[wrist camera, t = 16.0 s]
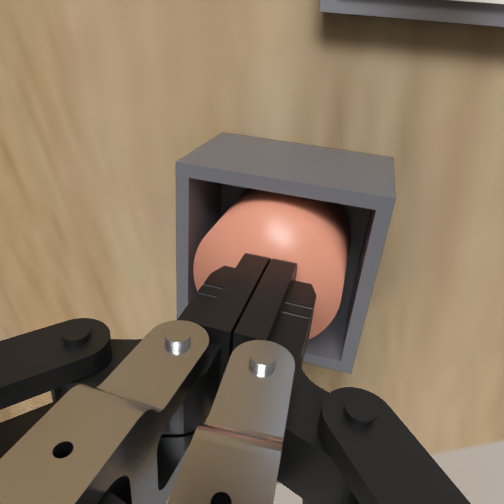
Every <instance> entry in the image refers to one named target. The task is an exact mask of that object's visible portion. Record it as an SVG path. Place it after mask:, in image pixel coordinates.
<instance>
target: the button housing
mask: <svg viewBox="0 0 504 504" xmlns="http://www.w3.org/2000/svg"><path fill="white" fill-rule="evenodd" d="M248 188H251V189H257V190H263V191H268V192H274V193H280V194H286V195H292V196H297V197H303V198H309V199H315V200H321V201H327V202H332V203H338V204H340V205H341V206H342V208H343V209H344V211H345V214H346V216H347V218H348V221H349V225H350V231H351V243H350V250H349V256H348V262H347V268H346V274H345V280H344V286H343V291H342V297H341V302H340V306H339V309H338V311H337V313H336V315H335V317H334V319H333V320H332V321H331V323H330V324H329V325H328V326H327V327H326V328H325V329H324V330H323V331H322V332H320V333H319V334H318V335H316V336H315V337H313V338H311V339H309V340H308V344H307V348H306V352H305V356H304V360H303V362H305V363H309V364H313V365H317V366H321V367H325V368H329V369H333V370H337V371H341V372H345V373H349V374H351V372H352V368H353V364H354V360H355V356H356V353H357V349H358V345H359V341H360V337H361V333H362V329H363V325H364V321H365V317H366V313H367V309H368V305H369V301H370V297H371V293H372V290H373V286H374V282H375V278H376V274H377V270H378V266H379V262H380V258H381V254H382V250H383V246H384V242H385V238H386V234H387V230H388V227H389V223H390V219H391V215H392V211H393V207H394V203H395V199H396V194H395V175H394V158H393V157H386V156H380V155H373V154H366V153H359V152H352V151H346V150H339V149H332V148H325V147H318V146H311V145H305V144H298V143H291V142H284V141H277V140H271V139H264V138H257V137H250V136H243V135H236V134H230V133H223V132H222V133H221V134H219V135H218V136H216V137H214V138H213V139H211V140H210V141H208V142H206V143H205V144H203V145H202V146H200V147H198V148H197V149H195V150H194V151H192V152H191V153H189V154H187V155H186V156H184V157H183V158H181V159H179V160H178V161H176V271H177V319H178V318H179V316H180V315H181V313H182V312H183V311H184V309H185V308H186V307H187V305H188V304H189V303H190V301H191V300H192V298H193V297H194V296H195V294H197V289H196V286H195V281H194V273H193V266H194V259H195V254H196V251H197V249H198V246H199V244H200V243H201V241H202V239H203V238H204V237H205V235H206V234H207V233H208V232H209V231H210V230H211V229H212V227H213V226H214V225H215V224H216V223H217V222H218V221H219V219H220V218H221V217H222V216H223V215H224V214H225V213H226V211H227V210H228V209H229V208H230V207H231V206H232V205H233V203H234V202H235V201H236V200H237V199H238V198H239V197H240V196H241V194H242V193H243V192H244V191H245V190H246V189H248Z"/></svg>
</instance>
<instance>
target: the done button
mask: <svg viewBox="0 0 504 504" xmlns="http://www.w3.org/2000/svg"><path fill="white" fill-rule="evenodd" d="M350 243H351V231H350V225H349V221H348V218H347V216H346V214H345V211H344V209H343V208H342V206H341V205H340V204H338V203H332V202H327V201H321V200H315V199H309V198H303V197H297V196H292V195H286V194H280V193H274V192H268V191H263V190H257V189H251V188H248V189H246V190H245V191H244V192H243V193H242V194H241V196H240V197H239V198H238V199H237V200H236V201H235V202H234V203H233V205H232V206H231V207H230V208H229V209H228V210H227V211H226V213H225V214H224V215H223V216H222V217H221V218H220V219H219V221H218V222H217V223H216V224H215V225H214V226H213V227H212V229H211V230H210V231H209V232H208V233H207V234H206V235H205V237H204V238H203V239H202V241H201V243H200V244H199V246H198V249H197V251H196V254H195V259H194V266H193V273H194V281H195V286H196V289H197V292H198V290H199V289H200V287H201V286H202V285H203V284H204V282H205V281H206V279H207V278H208V276H209V275H210V274H211V273H212V272H214V271H215V270H217V269H219V268H221V267H223V266H228V267H233V268H236V266H237V265H238V263H239V262H240V260H241V258H242V257H243V255H244V254H245V253H249V254H254V255H259V256H264V257H269V258H271V259H272V258H274V259H279V260H284V261H289V262H294V263H297V273H296V280H295V281H299V282H304V283H309V284H312V286H313V288H314V291H315V293H316V302H315V307H314V313H313V318H312V324H311V330H310V335H309V339H311V338H313V337H315V336H316V335H318V334H319V333H320V332H322V331H323V330H324V329H325V328H326V327H327V326H328V325H329V324H330V323H331V321H332V320H333V319H334V317H335V315H336V313H337V311H338V309H339V306H340V302H341V297H342V291H343V286H344V280H345V274H346V268H347V262H348V256H349V250H350Z"/></svg>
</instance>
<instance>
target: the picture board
mask: <svg viewBox="0 0 504 504" xmlns="http://www.w3.org/2000/svg"><path fill="white" fill-rule="evenodd" d="M319 12H324V13H336V14H348V15H360V16H372V17H384V18H396V19H408V20H420V21H432V22H444V23H456V24H468V25H480V26H492V27H504V0H320V8H319Z"/></svg>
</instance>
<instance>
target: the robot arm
mask: <svg viewBox="0 0 504 504" xmlns="http://www.w3.org/2000/svg"><path fill="white" fill-rule="evenodd" d="M296 273H297V263H294V262H289V261H284V260H279V259H274V258H272V259H271V258H269V257H264V256H259V255H254V254H249V253H245V254H244V255H243V257H242V258H241V260H240V262H239V263H238V265H237V266H236V268H233V267H228V266H223V267H221V268H219V269H217V270H215V271H214V272H212V273H211V274H210V275H209V276H208V278H207V279H206V281H205V282H204V284H203V285H202V286H201V287H200V289H199V290H198V292H197V294H195V296H194V297H193V298H192V300H191V301H190V303H189V304H188V305H187V307H186V308H185V309H184V311H183V312H182V313H181V315H180V316H179V318H178V319H177V320H175V321H169V322H165V323H162V324H160V325H158V326H156V327H155V328H153V329H152V330H151V331H150V332H149V333H148V334H147V335H146V336H145V337H144V338H143V339H139V340H120V339H111V338H110V330H109V328H108V327H107V326H106V325H105V324H104V323H103V322H100V321H98V320H95V319H89V318H79V319H72V320H68V321H65V322H62V323H58V324H55V325H52V326H48V327H45V328H42V329H39V330H35V331H32V332H29V333H25V334H22V335H19V336H16V337H12V338H9V339H6V340H2V341H0V410H1V409H3V408H6V407H9V406H11V405H14V404H16V403H19V402H22V401H24V400H27V399H30V398H32V397H35V396H37V395H40V394H43V393H45V392H48V391H51V394H52V399H53V402H52V403H50V404H47V405H45V406H42V407H40V408H37V409H35V410H32V411H30V412H27V413H24V414H22V415H19V416H17V417H14V418H12V419H9V420H7V421H4V422H2V423H0V504H165V503H166V501H167V499H168V497H169V495H170V493H171V495H170V498H169V500H168V503H167V504H273V501H274V495H275V488H276V482H277V481H279V482H280V483H282V484H283V485H284V486H286V487H287V488H289V489H290V490H292V491H293V492H294V493H296V494H297V495H299V496H300V497H301V498H302V499H303V504H470V502H469V501H468V500H467V499H466V498H465V496H464V495H463V494H462V493H461V492H460V490H459V489H458V488H457V487H456V486H455V484H454V483H453V482H452V481H451V480H450V479H449V477H448V476H447V475H446V474H445V472H444V471H443V470H442V469H441V468H440V467H439V465H438V464H437V463H436V462H435V461H434V459H433V458H432V457H431V456H430V455H429V453H428V452H427V451H426V450H425V449H424V447H423V446H422V445H421V444H420V443H419V441H418V440H417V439H416V438H415V437H414V435H413V434H412V433H411V432H410V431H409V429H408V428H407V427H406V426H405V425H404V423H403V422H402V421H401V420H400V419H399V418H398V416H397V415H396V414H395V413H394V412H393V410H392V409H391V408H390V407H389V406H388V405H387V404H386V402H385V401H383V400H382V399H381V398H380V397H378V396H376V395H375V394H373V393H371V392H369V391H366V390H363V389H359V388H353V387H344V388H339V389H336V390H334V391H332V392H331V393H329V392H327V391H325V390H323V389H321V388H320V387H318V386H317V385H315V384H314V383H313V382H311V381H310V380H309V379H308V378H307V377H306V375H305V374H304V372H303V370H302V368H301V367H302V363H303V360H304V356H305V352H306V348H307V344H308V340H309V335H310V330H311V324H312V318H313V313H314V307H315V302H316V293H315V291H314V288H313V286H312V284H309V283H304V282H299V281H295V280H296ZM209 413H210V414H209ZM208 415H209V417H208ZM207 417H208V419H207ZM206 419H207V422H206Z"/></svg>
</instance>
